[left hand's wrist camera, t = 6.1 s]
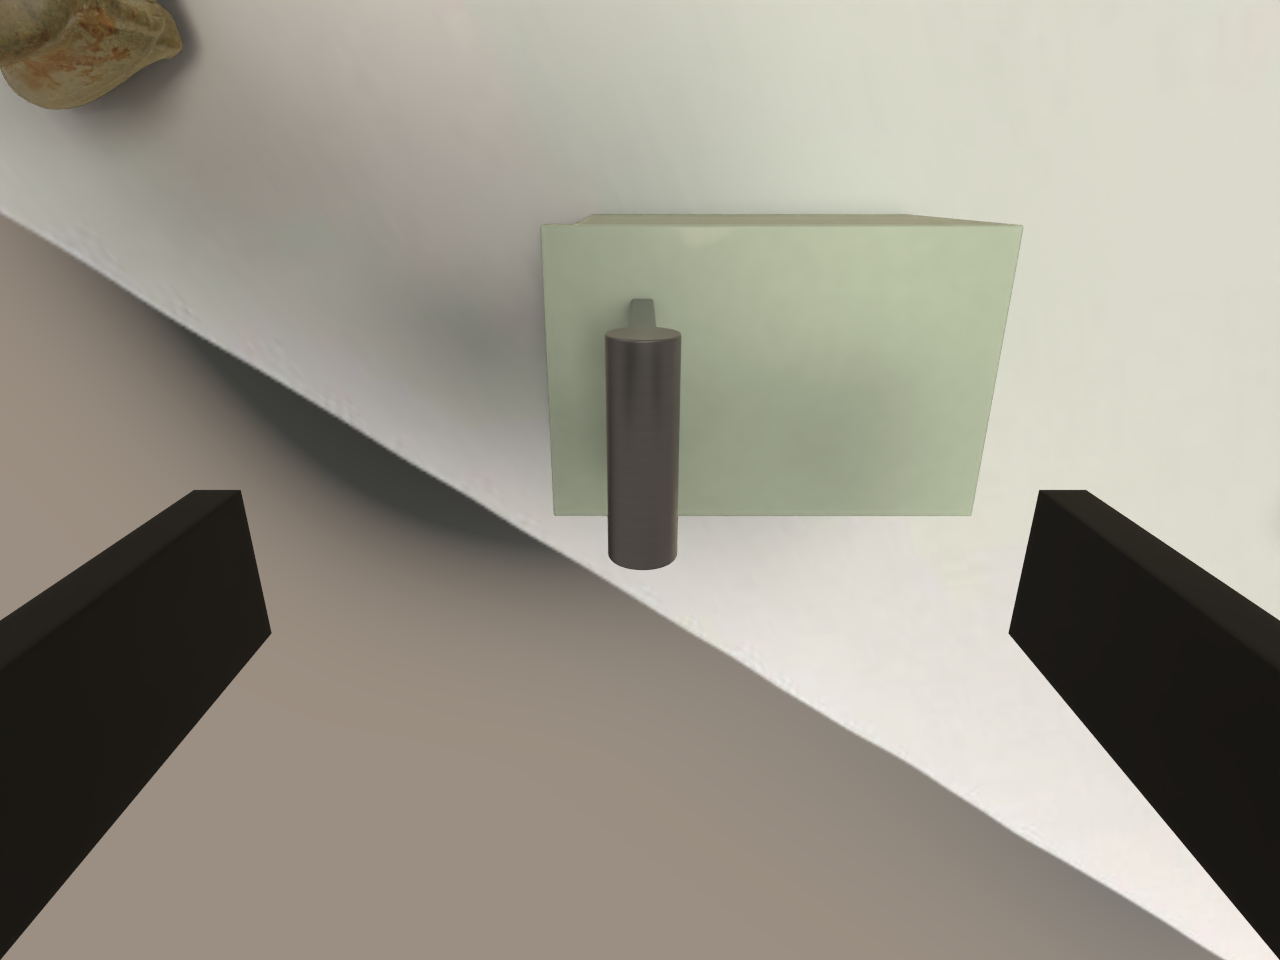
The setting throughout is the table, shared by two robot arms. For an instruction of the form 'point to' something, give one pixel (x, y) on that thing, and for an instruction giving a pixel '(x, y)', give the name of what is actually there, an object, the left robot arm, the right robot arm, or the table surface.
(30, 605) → the left robot arm
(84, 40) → the sculpture
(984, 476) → the table surface
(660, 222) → the chest
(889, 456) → the lid
